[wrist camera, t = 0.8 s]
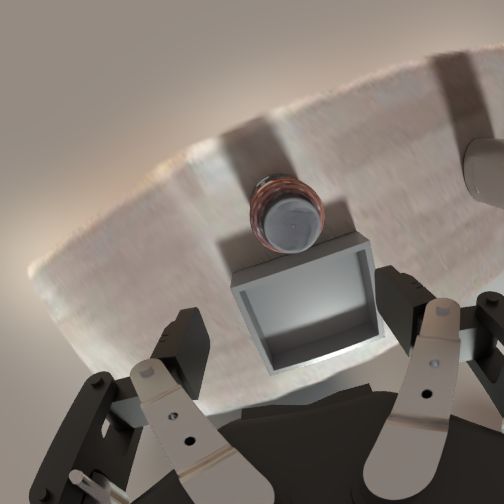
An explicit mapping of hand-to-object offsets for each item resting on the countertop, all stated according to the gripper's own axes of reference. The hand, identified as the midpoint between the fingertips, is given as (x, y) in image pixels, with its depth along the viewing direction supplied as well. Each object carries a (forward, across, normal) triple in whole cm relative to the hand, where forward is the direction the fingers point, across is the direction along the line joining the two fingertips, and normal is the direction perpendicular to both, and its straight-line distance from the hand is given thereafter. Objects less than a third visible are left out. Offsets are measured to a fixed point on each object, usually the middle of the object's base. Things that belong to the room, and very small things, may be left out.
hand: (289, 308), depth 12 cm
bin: (+19, -3, +11) cm, 22 cm away
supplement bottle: (+19, -1, -2) cm, 19 cm away
